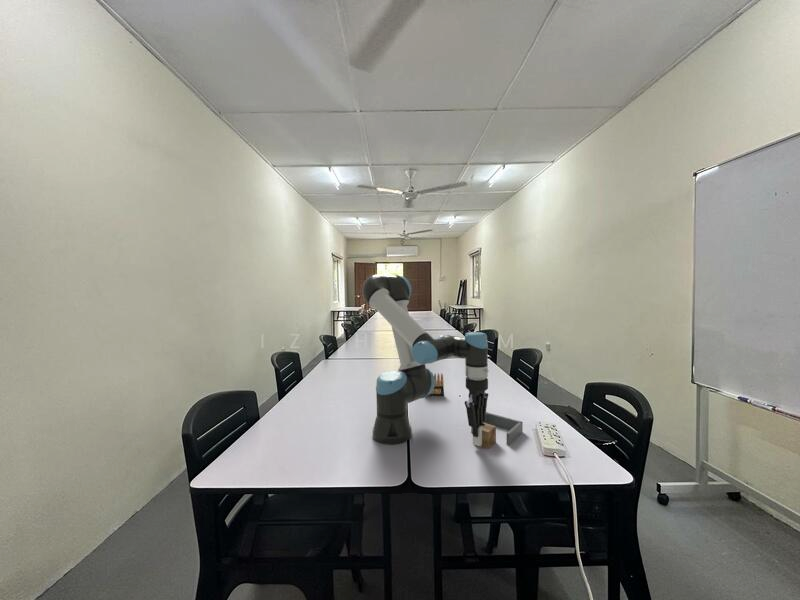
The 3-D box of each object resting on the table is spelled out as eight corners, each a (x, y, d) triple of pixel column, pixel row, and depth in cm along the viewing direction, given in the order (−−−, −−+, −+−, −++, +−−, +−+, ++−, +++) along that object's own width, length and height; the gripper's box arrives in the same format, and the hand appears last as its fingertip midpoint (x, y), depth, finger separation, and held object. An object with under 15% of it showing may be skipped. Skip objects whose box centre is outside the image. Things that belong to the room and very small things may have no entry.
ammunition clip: (423, 396, 160) (423, 373, 159) (423, 395, 161) (423, 372, 161) (444, 396, 160) (443, 373, 159) (443, 394, 161) (443, 372, 161)
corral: (509, 445, 108) (509, 434, 108) (471, 432, 118) (471, 422, 118) (522, 432, 118) (522, 421, 118) (486, 421, 128) (486, 412, 128)
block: (488, 449, 106) (488, 432, 106) (473, 443, 110) (472, 427, 110) (496, 442, 111) (495, 426, 110) (480, 437, 115) (480, 421, 114)
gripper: (477, 383, 98) (478, 455, 99) (495, 375, 108) (495, 440, 108) (457, 379, 103) (458, 448, 104) (476, 371, 113) (476, 434, 113)
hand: (477, 444), depth 106 cm, fingers closed
